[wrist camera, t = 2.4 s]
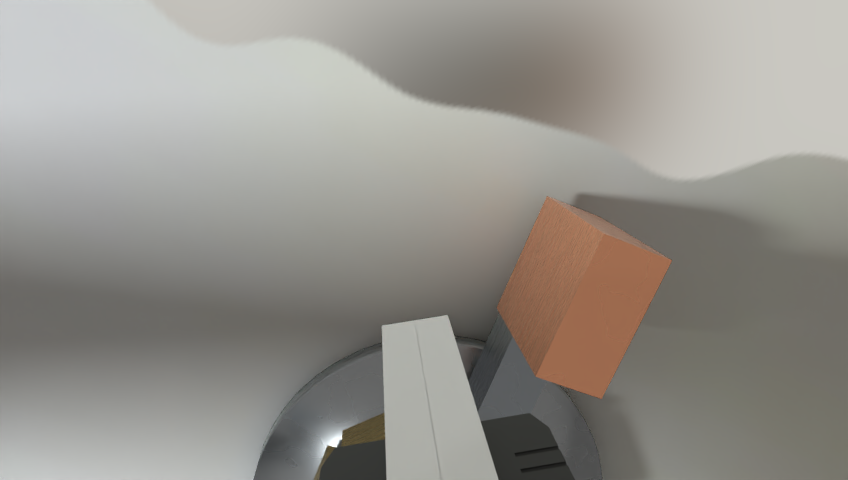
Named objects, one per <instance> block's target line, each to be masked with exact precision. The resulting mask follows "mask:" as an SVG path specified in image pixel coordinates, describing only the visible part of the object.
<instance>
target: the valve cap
mask: <svg viewBox="0 0 848 480" xmlns="http://www.w3.org/2000/svg"><path fill="white" fill-rule="evenodd" d="M454 337H455V340H456V343H457V347H458V350H459V353H460V356H461V360H462V363H463V366H464V369H465V373H466V376H467V379H468V381H469V379H470V377H471V374H472V372H473V370H474V368H475V366H476V363H477V361H478V359H479V357H480V355H481V352H482V350H483V348H484V346H485V344H486V342H484V341H480V340H477V339H471V338H464V337H457V336H454ZM382 413H384V381H383V349H382V343H380V344H377V345H374V346H371V347H368V348H366V349H363V350H360V351H357V352H355V353H354V354H352V355H350V356H348V357H346V358H344V359H342V360H340V361H338V362H336V363H334V364H333V365H331V366H330V367H328V368H327V369H325V370H324V371H323V372H321V373H320V374H318V375H317V376H315V377H314V378H313V379H312V380H311V381H310V382H309V383H308V384H306V385H305V386H304V387H303V388H302V389H301V390H300V391H299V392H298V393H297V394H296V395H295V396H294V397H293V399H292V400H291V401H290V402H289V403H288V404H287V405H286V407H285V408H284V409H283V411H282V412H281V414H280V415H279V417H278V418H277V420H276V421H275V423H274V424H273V426H272V428H271V430H270V432H269V435H268V437H267V439H266V441H265V443H264V445H263V449H262V452H261V455H260V459H259V462H258V465H257V469H256V472H255V476H254V480H314V477H315V475H316V472H317V470H318V467H319V465H320V463H321V460H322V458H323V455H324V453H325V450H326V448H327V445H329V446H333V447H341V445H342V431H343V430H345V429H347V428H350V427H352V426H354V425H357V424H359V423H361V422H364V421H366V420H368V419H371V418H373V417H375V416H378V415H380V414H382ZM531 414H532V415H533V416H534V417H536V418H537V419H539V420H540V421H541V422H543V423H544V424H545V425H547V426H548V427H549V428H550V430H551V432H552V434H553V436H554V438H555V440H556V442H557V444H558V448H559V449H560V450H561V452H562V454H563V456H564V459H565V461H566V464H567V465H568V467H569V469H570V471H571V473H572V475H573V477H574V479H575V480H602V472H601V466H600V459H599V455H598V451H597V448H596V445H595V442H594V438H593V436H592V434H591V432H590V430H589V428H588V426H587V424H586V422H585V420H584V418H583V417H582V415H581V414H580V412H579V411H578V409H577V408H576V406H575V405H574V403H573V402H572V400H571V399H570V397H569V396H568V395H567V393H566V392H565V391H564V390H563V389H562V388H561V387H560V385H558V384H556V383H553V382H550V381H546V383H545V385H544V387H543V390H542V392H541V394H540V396H539V398H538V400H537V402H536V404H535V406H534V408H533V410H532V412H531Z"/></svg>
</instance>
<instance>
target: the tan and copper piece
mask: <svg viewBox="0 0 848 480" xmlns="http://www.w3.org/2000/svg"><path fill="white" fill-rule="evenodd" d="M671 262H672V260H671V259H669V258H667V257H666V256H664V255H662V254H661V253H659V252H657V251H656V250H654V249H652V248H651V247H649V246H647V245H646V244H644V243H642V242H641V241H639V240H637V239H636V238H634V237H632V236H631V235H629V234H627V233H626V232H624V231H622V230H621V229H619V228H617V227H616V226H614V225H612V224H611V223H609V222H607V221H606V220H604V219H602V218H601V217H599V216H596V215H594V214H591V213H589V212H586V211H584V210H581V209H579V208H576V207H574V206H571V205H569V204H566V203H563V202H561V201H558V200H556V199H553V198H551V197H548V196H547V197H546V200H545V202H544V204H543V206H542V208H541V211H540V213H539V215H538V217H537V220H536V222H535V224H534V226H533V228H532V231H531V233H530V235H529V237H528V239H527V242H526V244H525V246H524V248H523V251H522V253H521V255H520V257H519V259H518V262H517V264H516V266H515V268H514V270H513V273H512V275H511V277H510V279H509V282H508V284H507V286H506V288H505V290H504V293H503V295H502V297H501V299H500V301H499V304H498V306H497V310H498V311H499V315H498V317H497V319H496V322H495V324H494V326H493V328H492V330H491V333H490V335H489V337H488V339H487V341H486V344H485V346H484V348H483V350H482V352H481V355H480V357H479V359H478V361H477V363H476V366H475V368H474V370H473V372H472V374H471V377H470V379H469V381H468V382H469V385H470V389H471V392H472V395H473V398H474V402H475V405H476V408H477V411H478V415H479V418H480V421H485V420H490V419H496V418H502V417H508V416H514V415H520V414H526V413H530V414H531V412H532V410H533V408H534V406H535V404H536V402H537V400H538V398H539V396H540V394H541V392H542V390H543V387H544V385H545V383H546V381H550V382H553V383H556V384H558V385H561V386H564V387H567V388H570V389H573V390H576V391H579V392H582V393H585V394H588V395H591V396H594V397H597V398H600V399H602V397H603V395H604V393H605V391H606V389H607V387H608V385H609V384H610V382H611V380H612V378H613V376H614V374H615V372H616V370H617V368H618V366H619V364H620V362H621V360H622V358H623V356H624V354H625V352H626V350H627V348H628V346H629V344H630V342H631V340H632V338H633V336H634V334H635V332H636V330H637V329H638V327H639V325H640V323H641V321H642V319H643V317H644V315H645V313H646V311H647V309H648V307H649V305H650V303H651V301H652V299H653V297H654V295H655V293H656V291H657V289H658V287H659V285H660V283H661V281H662V279H663V277H664V275H665V274H666V272H667V270H668V268H669V266H670V264H671ZM384 439H385V413H382V414H380V415H378V416H375V417H373V418H371V419H368V420H366V421H364V422H361V423H359V424H357V425H354V426H352V427H350V428H347V429H345V430H343V431H342V445H341V447H342V446H348V445H354V444H360V443H366V442H372V441H378V440H384ZM334 448H336V447H333V446H329V445H327V448H326V450H325V453H324V455H323V458H322V460H321V463H320V465H319V467H318V470H317V472H316V475H315V477H314V480H319V477H320V470H321V467H322V465H323V464H324V462H325V461H326V460H327V458H328V457H329V455H330V454H331V453H332V451H333V450H334Z"/></svg>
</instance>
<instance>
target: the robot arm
mask: <svg viewBox="0 0 848 480" xmlns="http://www.w3.org/2000/svg"><path fill="white" fill-rule="evenodd" d="M382 349H383V381H384V413H385V439H384V440H378V441H372V442H366V443H360V444H354V445H348V446H342V447H336V448H334V450H333V451H332V453H331V454H330V455H329V457H328V458H327V460H326V461H325V462H324V464H323V465H322V467H321V470H320V477H319V480H575V479H574V477H573V475H572V473H571V471H570V469H569V467H568V465H567V464H566V461H565V459H564V456H563V454H562V452H561V450H560V449H559V448H558V444H557V442H556V440H555V438H554V436H553V434H552V432H551V430H550V428H549V427H548V426H547V425H545V424H544V423H543V422H541V421H540V420H539V419H537V418H536V417H534V416H533V415H532V414H530V413H526V414H520V415H514V416H508V417H502V418H496V419H490V420H485V421H480V418H479V415H478V411H477V408H476V405H475V402H474V398H473V395H472V392H471V389H470V385H469V382H468V379H467V376H466V373H465V369H464V366H463V363H462V360H461V356H460V353H459V350H458V347H457V343H456V340H455V337H454V334H453V330H452V327H451V324H450V321H449V317H448V315H444V316H438V317H432V318H426V319H419V320H413V321H407V322H401V323H395V324H388V325H382Z"/></svg>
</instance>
